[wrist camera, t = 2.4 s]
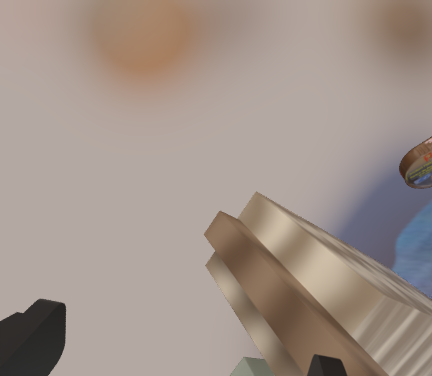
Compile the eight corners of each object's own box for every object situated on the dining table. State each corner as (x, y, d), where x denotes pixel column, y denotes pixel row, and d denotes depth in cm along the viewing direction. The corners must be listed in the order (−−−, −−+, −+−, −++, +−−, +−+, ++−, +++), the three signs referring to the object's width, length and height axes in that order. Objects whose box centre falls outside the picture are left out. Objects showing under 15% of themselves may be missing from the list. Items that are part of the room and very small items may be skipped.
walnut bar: (553, 547, 12) (543, 570, 11) (502, 595, 13) (484, 625, 11) (240, 220, 33) (219, 210, 32) (224, 242, 34) (203, 234, 32)
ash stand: (493, 344, 39) (383, 294, 20) (441, 403, 40) (294, 406, 22) (383, 264, 52) (256, 191, 33) (346, 311, 53) (205, 265, 35)
